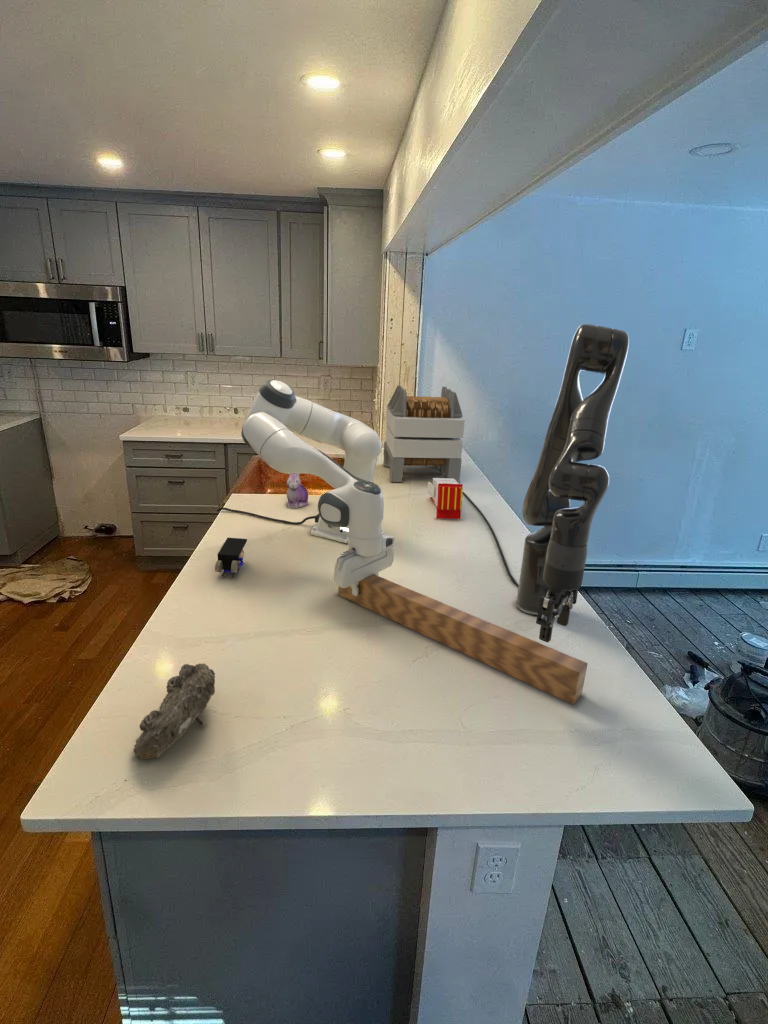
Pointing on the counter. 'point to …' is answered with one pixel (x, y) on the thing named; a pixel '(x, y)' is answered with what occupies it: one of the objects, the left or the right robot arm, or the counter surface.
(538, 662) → the post
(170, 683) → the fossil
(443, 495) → the toy
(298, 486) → the figurine
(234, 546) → the figurine character
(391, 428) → the transformer
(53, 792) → the counter surface
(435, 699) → the counter surface
